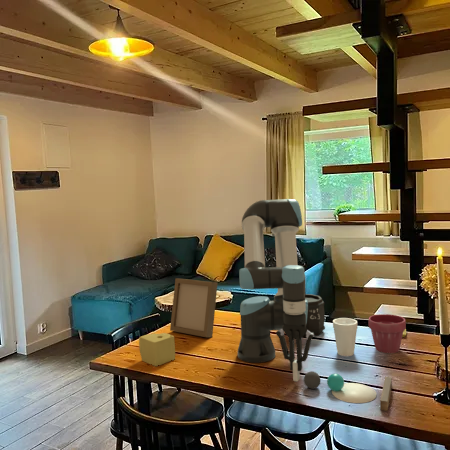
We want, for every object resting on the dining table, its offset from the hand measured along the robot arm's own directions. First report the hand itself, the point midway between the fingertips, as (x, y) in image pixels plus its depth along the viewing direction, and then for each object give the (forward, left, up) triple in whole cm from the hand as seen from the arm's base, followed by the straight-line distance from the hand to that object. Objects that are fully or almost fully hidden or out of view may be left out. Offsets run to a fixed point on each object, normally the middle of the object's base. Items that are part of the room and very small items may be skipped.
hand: (296, 379), depth 158 cm
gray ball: (+6, -1, +1) cm, 6 cm away
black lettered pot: (-11, +56, -2) cm, 57 cm away
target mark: (+19, 0, -2) cm, 19 cm away
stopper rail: (+29, 0, -2) cm, 29 cm away
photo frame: (-59, +42, -2) cm, 72 cm away
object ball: (+13, 0, +1) cm, 13 cm away
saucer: (+28, +63, -3) cm, 69 cm away
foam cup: (+11, +34, -2) cm, 36 cm away
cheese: (-58, +5, -2) cm, 58 cm away
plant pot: (+26, +43, -2) cm, 50 cm away
